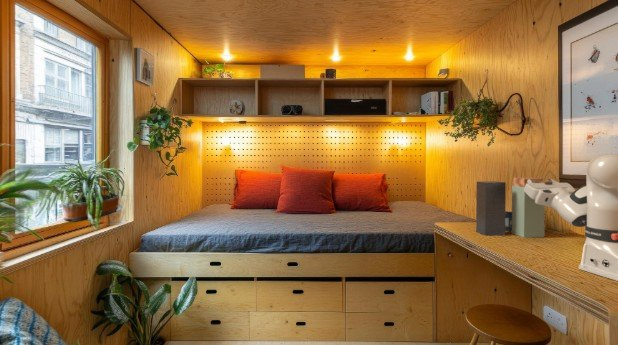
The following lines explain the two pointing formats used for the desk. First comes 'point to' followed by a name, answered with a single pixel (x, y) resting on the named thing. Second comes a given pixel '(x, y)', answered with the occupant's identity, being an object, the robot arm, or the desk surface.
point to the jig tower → (490, 208)
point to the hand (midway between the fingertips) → (538, 180)
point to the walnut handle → (523, 182)
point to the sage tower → (526, 215)
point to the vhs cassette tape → (508, 221)
